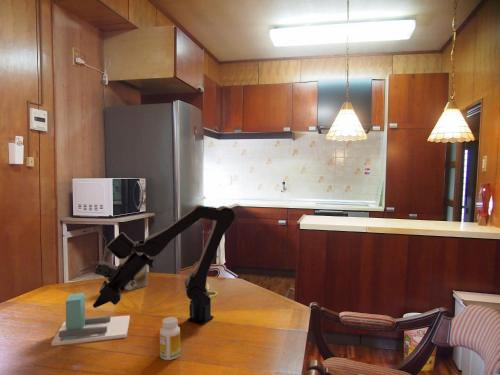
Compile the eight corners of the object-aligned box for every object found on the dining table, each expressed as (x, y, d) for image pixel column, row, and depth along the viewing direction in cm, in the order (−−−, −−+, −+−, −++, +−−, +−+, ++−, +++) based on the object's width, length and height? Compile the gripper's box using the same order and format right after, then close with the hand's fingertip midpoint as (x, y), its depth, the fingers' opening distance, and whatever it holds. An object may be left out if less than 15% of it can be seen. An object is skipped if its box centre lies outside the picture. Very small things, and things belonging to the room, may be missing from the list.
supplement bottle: (181, 349, 96) (181, 315, 95) (178, 360, 90) (178, 324, 90) (162, 350, 95) (162, 315, 95) (157, 360, 90) (157, 324, 90)
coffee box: (129, 291, 143) (128, 252, 142) (121, 287, 147) (120, 250, 146) (148, 285, 150) (148, 249, 149) (140, 282, 154) (139, 246, 153)
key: (208, 287, 148) (208, 282, 148) (219, 297, 138) (219, 291, 137) (192, 290, 145) (192, 285, 145) (202, 300, 134) (202, 294, 134)
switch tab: (85, 324, 109) (84, 292, 108) (81, 332, 103) (80, 299, 103) (71, 325, 108) (70, 294, 107) (66, 334, 102) (65, 300, 101)
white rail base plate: (129, 318, 116) (129, 310, 116) (126, 337, 103) (126, 329, 102) (64, 324, 111) (64, 317, 111) (51, 345, 97) (51, 337, 97)
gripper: (114, 245, 116) (79, 281, 114) (106, 259, 98) (65, 301, 96) (139, 267, 118) (106, 301, 116) (136, 283, 100) (96, 325, 98)
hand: (93, 306), depth 106 cm, fingers closed
